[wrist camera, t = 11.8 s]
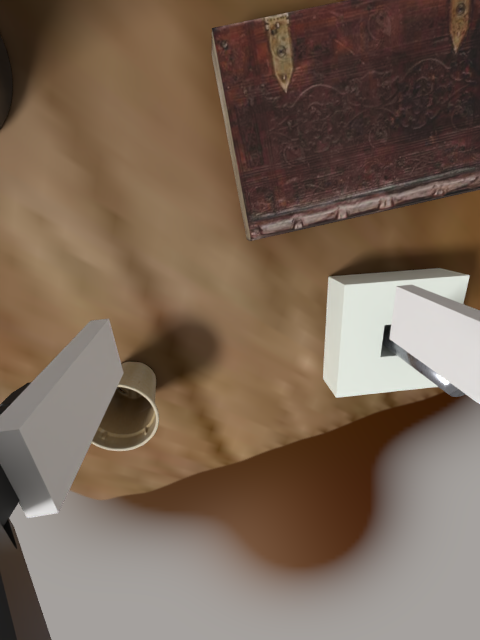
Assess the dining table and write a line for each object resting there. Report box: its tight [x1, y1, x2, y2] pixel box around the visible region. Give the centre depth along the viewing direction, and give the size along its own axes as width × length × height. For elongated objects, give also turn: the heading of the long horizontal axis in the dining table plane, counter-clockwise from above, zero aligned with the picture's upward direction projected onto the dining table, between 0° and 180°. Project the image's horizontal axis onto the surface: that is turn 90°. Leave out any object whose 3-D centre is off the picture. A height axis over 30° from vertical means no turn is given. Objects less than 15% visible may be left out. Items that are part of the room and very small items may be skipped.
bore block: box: [323, 268, 470, 398], centre depth 40 cm, size 16×16×5 cm
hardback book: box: [212, 0, 480, 241], centre depth 32 cm, size 29×19×5 cm, turn 102°
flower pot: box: [91, 362, 159, 451], centre depth 38 cm, size 9×9×9 cm
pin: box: [382, 325, 465, 397], centre depth 35 cm, size 3×3×14 cm
